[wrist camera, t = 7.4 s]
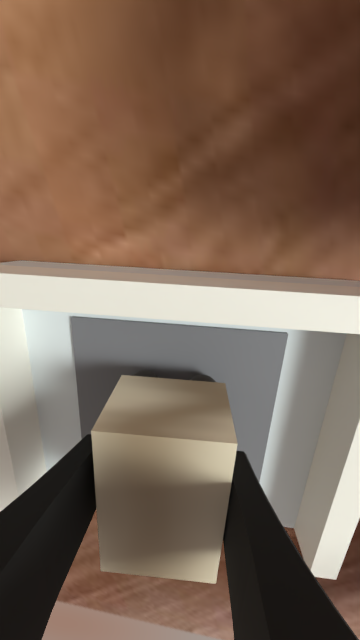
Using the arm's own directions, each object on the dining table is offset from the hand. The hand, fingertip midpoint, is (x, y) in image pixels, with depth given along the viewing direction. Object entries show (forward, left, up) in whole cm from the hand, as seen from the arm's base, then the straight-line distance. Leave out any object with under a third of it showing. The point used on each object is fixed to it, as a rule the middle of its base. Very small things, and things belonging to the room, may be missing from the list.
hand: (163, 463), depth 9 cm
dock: (0, 0, -5) cm, 5 cm away
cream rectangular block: (0, 0, -3) cm, 3 cm away
